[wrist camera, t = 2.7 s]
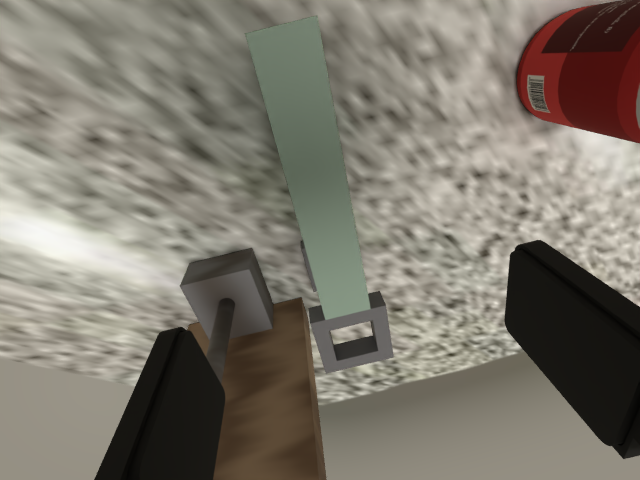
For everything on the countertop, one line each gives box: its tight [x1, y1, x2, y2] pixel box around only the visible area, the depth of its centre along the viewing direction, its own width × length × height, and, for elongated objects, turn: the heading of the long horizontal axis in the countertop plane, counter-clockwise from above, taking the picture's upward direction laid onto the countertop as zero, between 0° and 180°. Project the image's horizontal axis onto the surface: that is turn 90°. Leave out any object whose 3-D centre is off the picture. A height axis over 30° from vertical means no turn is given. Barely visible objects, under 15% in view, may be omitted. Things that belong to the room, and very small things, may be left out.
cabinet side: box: [180, 248, 326, 480], centre depth 24 cm, size 12×10×20 cm
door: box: [245, 16, 394, 373], centre depth 23 cm, size 5×21×11 cm, turn 12°
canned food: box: [517, 0, 640, 143], centre depth 21 cm, size 8×8×11 cm
